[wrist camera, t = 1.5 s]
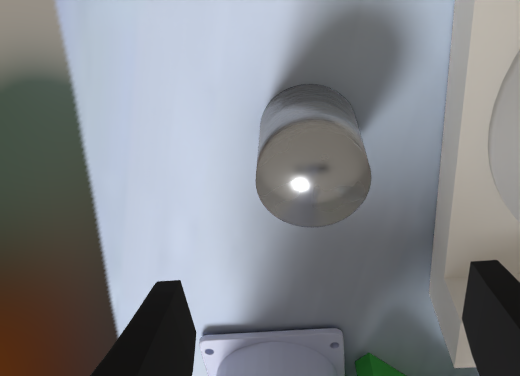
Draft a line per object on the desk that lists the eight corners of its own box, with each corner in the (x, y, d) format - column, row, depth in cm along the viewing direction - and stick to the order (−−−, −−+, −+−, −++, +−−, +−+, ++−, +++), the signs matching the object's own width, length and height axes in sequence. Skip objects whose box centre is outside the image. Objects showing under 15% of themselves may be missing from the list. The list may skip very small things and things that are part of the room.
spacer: (357, 166, 21) (371, 223, 18) (265, 173, 22) (262, 230, 18) (355, 78, 19) (371, 125, 16) (253, 89, 20) (248, 136, 16)
